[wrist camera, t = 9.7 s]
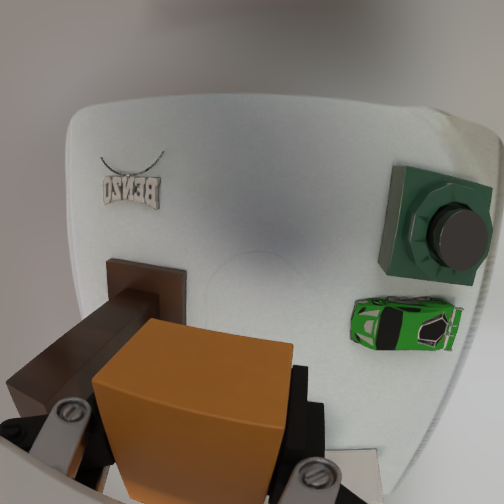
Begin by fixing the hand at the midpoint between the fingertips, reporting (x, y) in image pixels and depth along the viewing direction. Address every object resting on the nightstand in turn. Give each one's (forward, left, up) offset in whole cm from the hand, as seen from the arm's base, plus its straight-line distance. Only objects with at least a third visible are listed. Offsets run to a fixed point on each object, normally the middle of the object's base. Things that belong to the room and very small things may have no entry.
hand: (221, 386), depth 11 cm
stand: (+6, -11, -16) cm, 20 cm away
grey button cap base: (-5, +13, -16) cm, 21 cm away
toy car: (+4, +13, -16) cm, 21 cm away
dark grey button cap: (-5, +13, -11) cm, 18 cm away
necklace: (-6, -13, -16) cm, 21 cm away
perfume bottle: (+23, +12, -16) cm, 30 cm away
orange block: (0, 0, +1) cm, 1 cm away
